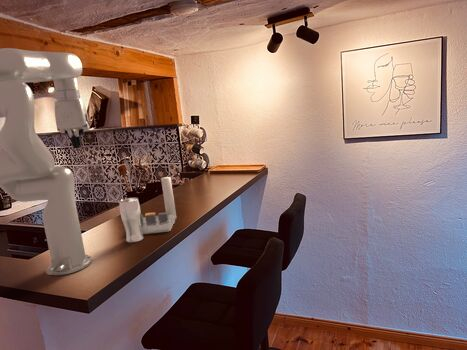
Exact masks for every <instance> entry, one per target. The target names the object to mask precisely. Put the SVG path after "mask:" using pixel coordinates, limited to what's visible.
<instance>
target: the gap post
mask: <svg viewBox="0 0 467 350" xmlns="http://www.w3.org/2000/svg"><path fill="white" fill-rule="evenodd" d="M160 181H161V187H162V188H161V189H162V195H163V200H164V201H163V202H164V208H165V213H166V212H168V215H174V217H175V220H177V212H176V204H175V198H174V193H173V192H174V191H173V185H172V177H170V176H165V177H161V178H160Z"/></svg>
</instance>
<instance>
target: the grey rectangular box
mask: <svg viewBox="0 0 467 350" xmlns="http://www.w3.org/2000/svg"><path fill="white" fill-rule="evenodd" d="M157 216H158V219H159V221H161V220H168V219H169V217H168V212H166V211H165V212H159V213H157Z"/></svg>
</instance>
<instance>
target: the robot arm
mask: <svg viewBox="0 0 467 350" xmlns="http://www.w3.org/2000/svg"><path fill="white" fill-rule="evenodd" d="M82 74H83V63H82V62H81V59H80V58H79V56H77V55H76V54H75V53H71V52H61V51H60V52H59V51H58V52H57V51H54V52H53V51H43V50H42V51H41V50H37V51H36V50H27V49H26V50H25V49H19V48H12V47H6V48H2V47H1V48H0V119H1V118H5V119H4V123H3V125H2V127H1V129H0V189H1V190H3V191H4V193H6V194H7V195H8V196H10V198H12V199H13V200H15V201H16V202H23V203H24V202H25V203H26V202H34V201H36V202H37V201H47V203H46V205H45V206H44V208H43V211H42V213H41V214H42V215H41V218H42V223H43V228H44V232H45V237H46V241H47V247H48V251H49V256H50V265H48V266H47V268H46V269H45V273H46V275H48V276H51V275H52V276H63V275H68V274H72V273H73V274H74V273H75V272H79V271H81V270H83V269H85V268H87V267H88V266H90V265H91V263H92V262H93V261H92V260H93V259H92V257H91V255H89V254H86V251H85V246H84V241H83V236H82V235H83V234H82V230H81V226H80V225H81V224H80V220H79V214H78V208H77V203H76V195H75V193H76V191H75V189H76V188H75V186H76V185H75V175H74V173H73V171H72V170H71V169H70V168H68V167H66V166H62V165H61V166H60V165H59V166H57V165H56V162H55V159H54V157H53V155H52V153H51V152H50V150H49V149H48V148H47V146H46V145H45V144H44V142H43V141H42V140H41V137H39V136H38V134H37V132H36V130H35V98H34V93H33V91H32V89H31V87H30V86H29V85H28V84H27V83H40V82H42V83H43V82H49V81H50V82H51V81H53V85H54V90H55V93H54V94H52V98H53V99H56V101H54V117H55V124H56V128H57V129H58V132H59V133H60V134H66V135H67V136H68V137H69V138H70V140H71V145H72V147H73V149H79V148H82V145H83V140H82V136H83V134H84V132H87V131H89V130H90V129H91V127H90V121H89V115H88V111H87V108H86V106H85V103H84V100H83V99H81V94H80V89H79V84H78V83H79V82H78V78H79V77H81V76H82Z"/></svg>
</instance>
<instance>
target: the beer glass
mask: <svg viewBox="0 0 467 350" xmlns="http://www.w3.org/2000/svg"><path fill="white" fill-rule="evenodd" d="M118 203H119V213H120V216H121V221H122V223H123V225H124V226H123V227H124V229H125V232H126V233H125V234H126V240H125V241H126V242H127V243H137V242H139V241H142V240H143V239H144V234H142V232H141V215H142V213H141V206H140V202H139V198H138V197H128V198H124V199H121V200H119V202H118Z"/></svg>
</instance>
